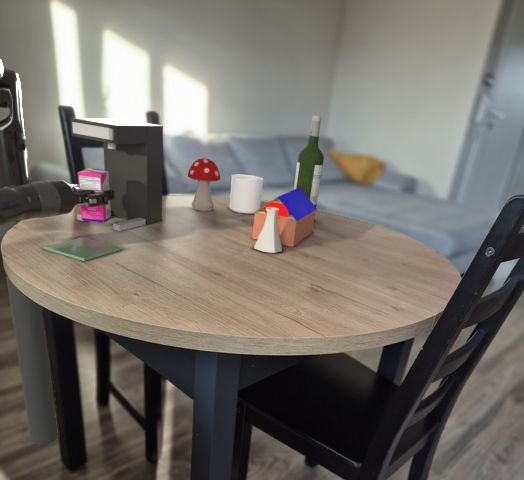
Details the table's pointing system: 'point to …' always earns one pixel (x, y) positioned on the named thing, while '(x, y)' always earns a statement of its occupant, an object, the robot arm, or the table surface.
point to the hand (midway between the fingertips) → (100, 191)
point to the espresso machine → (129, 166)
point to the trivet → (82, 248)
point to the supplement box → (97, 183)
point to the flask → (269, 233)
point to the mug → (245, 193)
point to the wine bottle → (310, 164)
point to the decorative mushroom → (203, 182)
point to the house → (288, 217)
